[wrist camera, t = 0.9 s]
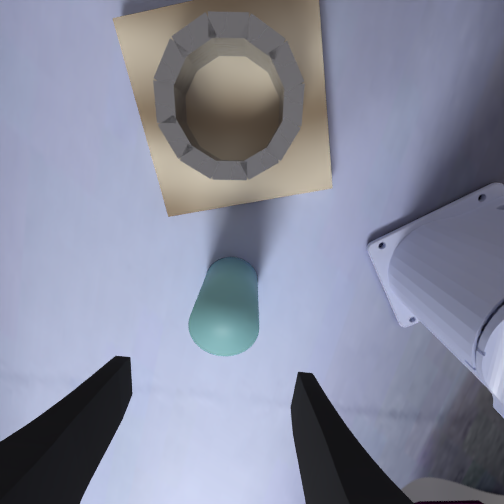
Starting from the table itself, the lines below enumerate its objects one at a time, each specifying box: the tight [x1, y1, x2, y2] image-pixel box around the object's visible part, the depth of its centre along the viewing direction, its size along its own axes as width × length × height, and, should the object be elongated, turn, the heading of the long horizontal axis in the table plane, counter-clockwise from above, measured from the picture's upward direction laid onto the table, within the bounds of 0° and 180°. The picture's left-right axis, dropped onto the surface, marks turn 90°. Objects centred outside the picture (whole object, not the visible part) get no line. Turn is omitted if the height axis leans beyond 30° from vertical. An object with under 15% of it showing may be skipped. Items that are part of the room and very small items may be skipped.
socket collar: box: [153, 11, 305, 180], centre depth 15 cm, size 8×8×2 cm
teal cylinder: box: [189, 257, 259, 356], centre depth 18 cm, size 4×4×6 cm
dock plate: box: [113, 0, 332, 217], centre depth 17 cm, size 11×11×1 cm
